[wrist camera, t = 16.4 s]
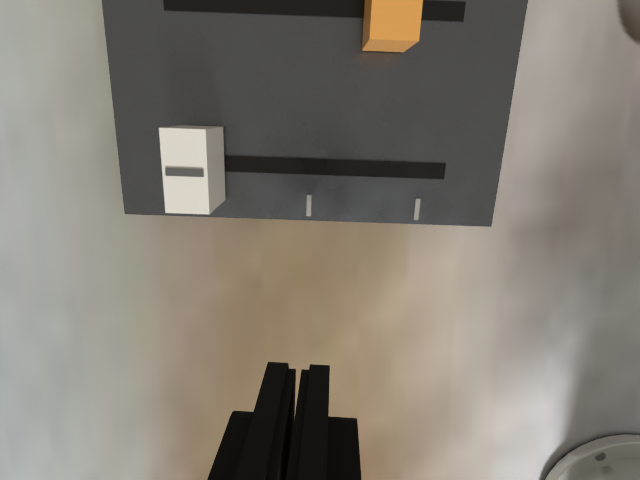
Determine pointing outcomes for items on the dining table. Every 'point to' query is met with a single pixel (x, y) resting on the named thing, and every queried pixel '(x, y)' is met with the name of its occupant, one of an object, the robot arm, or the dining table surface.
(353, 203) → the console
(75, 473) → the dining table surface
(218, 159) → the cream fader
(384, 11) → the orange fader
